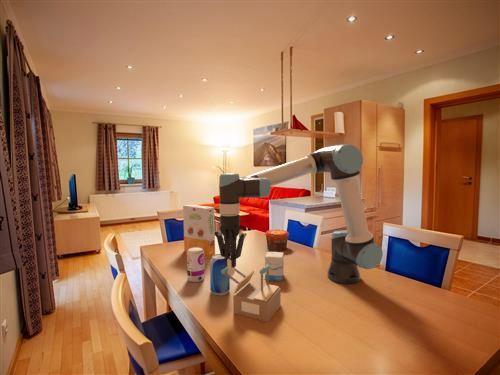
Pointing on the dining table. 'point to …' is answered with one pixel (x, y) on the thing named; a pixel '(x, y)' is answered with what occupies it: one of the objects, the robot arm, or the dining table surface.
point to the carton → (255, 302)
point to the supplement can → (195, 264)
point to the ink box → (275, 265)
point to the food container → (277, 239)
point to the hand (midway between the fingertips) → (231, 275)
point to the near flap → (268, 289)
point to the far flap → (240, 284)
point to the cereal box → (199, 228)
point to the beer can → (218, 276)
